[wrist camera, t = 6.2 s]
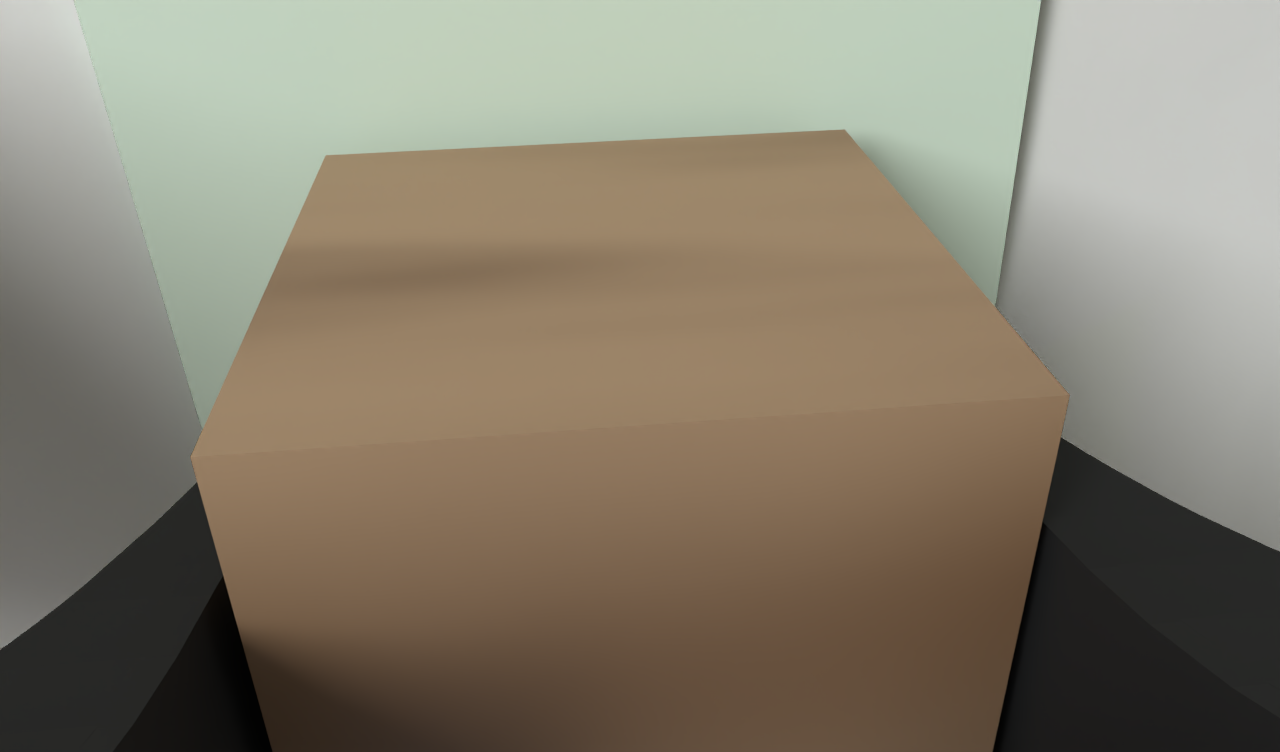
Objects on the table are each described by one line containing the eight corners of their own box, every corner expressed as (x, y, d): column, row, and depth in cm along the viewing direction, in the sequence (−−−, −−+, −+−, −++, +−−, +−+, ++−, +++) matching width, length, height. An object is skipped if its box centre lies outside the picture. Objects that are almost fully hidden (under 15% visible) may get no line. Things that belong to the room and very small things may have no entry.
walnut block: (812, 531, 14) (957, 914, 10) (396, 563, 14) (337, 981, 9) (845, 130, 12) (1069, 396, 7) (326, 155, 11) (190, 457, 7)
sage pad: (943, 598, 17) (949, 612, 16) (279, 662, 16) (275, 677, 16) (1044, -112, 11) (1056, -109, 11) (69, -58, 11) (57, -54, 11)
